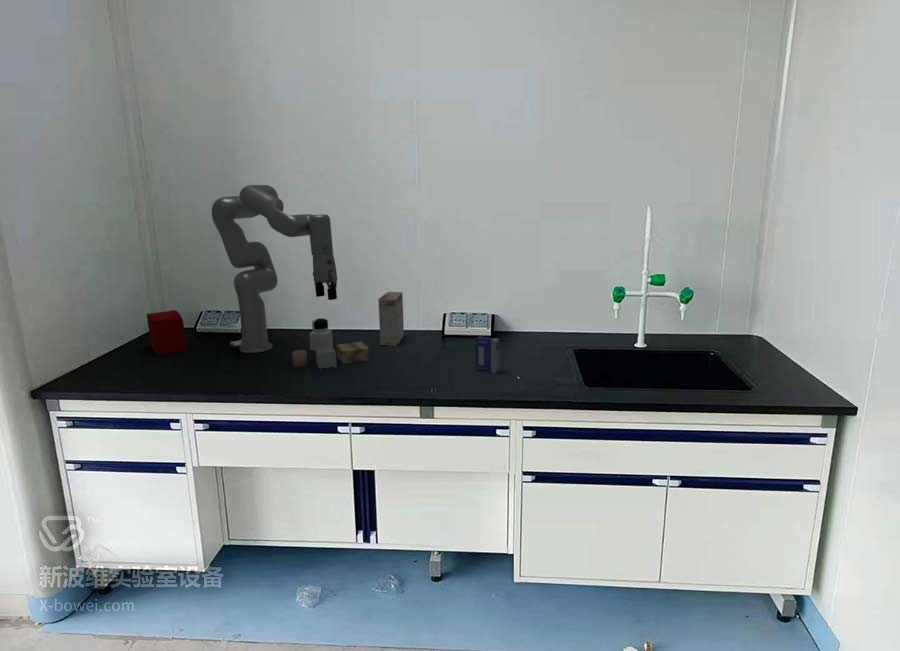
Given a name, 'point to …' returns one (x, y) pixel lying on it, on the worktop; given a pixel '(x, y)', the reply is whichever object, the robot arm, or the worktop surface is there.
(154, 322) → the fire alarm
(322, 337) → the medicine bottle
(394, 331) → the coffeecake box
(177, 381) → the worktop surface
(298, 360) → the terracotta cylinder
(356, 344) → the oak block
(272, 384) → the worktop surface
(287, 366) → the worktop surface
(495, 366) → the walkman
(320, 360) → the grey cube
